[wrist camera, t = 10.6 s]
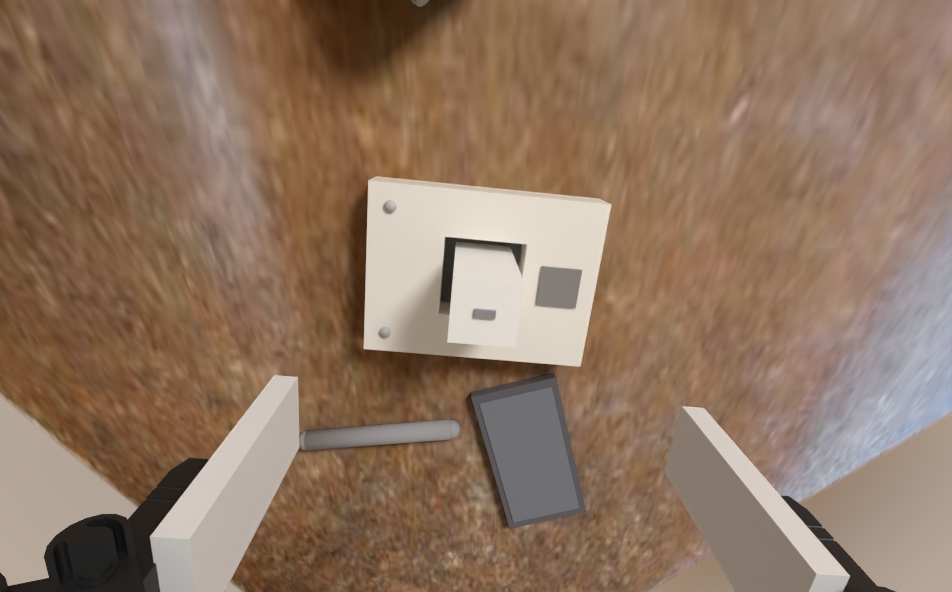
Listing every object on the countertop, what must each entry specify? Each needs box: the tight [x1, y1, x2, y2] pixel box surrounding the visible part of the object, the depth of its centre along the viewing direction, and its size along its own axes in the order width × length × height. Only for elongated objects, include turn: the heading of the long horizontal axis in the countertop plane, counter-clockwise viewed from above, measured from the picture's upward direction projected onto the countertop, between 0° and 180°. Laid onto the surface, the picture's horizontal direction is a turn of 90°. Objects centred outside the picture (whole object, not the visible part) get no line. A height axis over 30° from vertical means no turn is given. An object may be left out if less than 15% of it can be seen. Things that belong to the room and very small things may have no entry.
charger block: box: [447, 241, 524, 348], centre depth 31 cm, size 4×4×9 cm
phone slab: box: [471, 373, 586, 529], centre depth 41 cm, size 7×14×1 cm, turn 14°
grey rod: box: [299, 420, 460, 450], centre depth 40 cm, size 14×2×2 cm, turn 94°
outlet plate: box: [364, 176, 611, 366], centre depth 34 cm, size 16×12×3 cm
